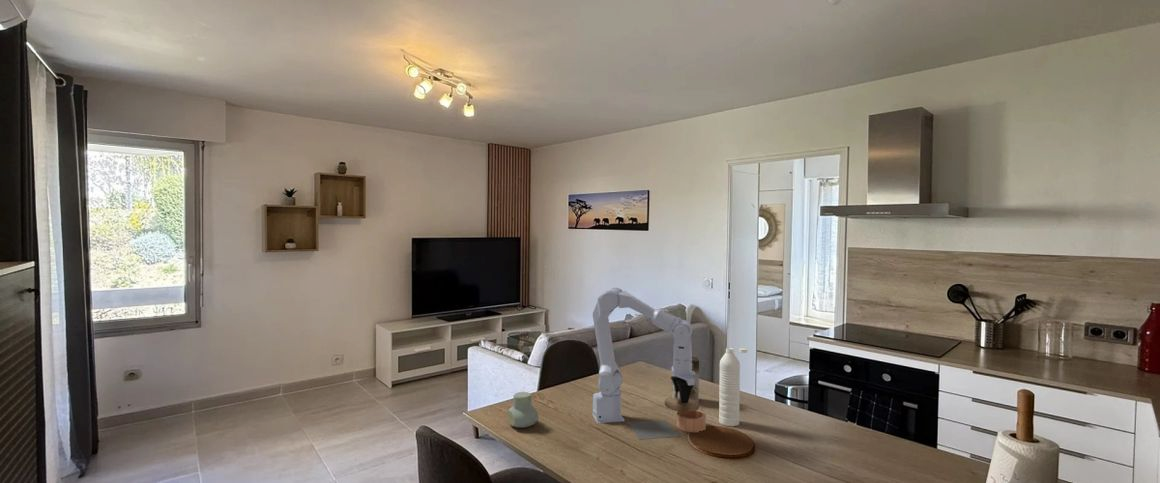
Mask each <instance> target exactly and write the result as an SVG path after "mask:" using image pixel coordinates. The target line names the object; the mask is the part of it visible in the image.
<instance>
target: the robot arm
mask: <svg viewBox="0 0 1160 483" xmlns="http://www.w3.org/2000/svg"><path fill="white" fill-rule="evenodd" d="M596 300H597V301H596V304H595V306H594V309H593V312H592V319H593V326H594V333H595V339H596V344H597V345H596V346H597V351H598V358H599V365H600V367H599V371H598V377H599V378H598V379H599V380H598V382H597V388H598V390H599V392H595V393H593V394H592V416H593V418H594V420H595V422H596V423H597V424H604V423H605V424H606V423H617V422H618V423H619V422H625V418H624V417H623V416H622V390H621V386H622V384H623V381H624V378H623V375H622V373H621V372H620V370H619V365H618V364H617V363H616V358H615V351H614V346H613V345H614V344H613V338H612V333H611V326H610V325H611V324H610V321H609V320H610V319H609V316H611V314H613V312H614V310H615V309H616V308H618V309H626V308H627V309H628V308H629V309H631V310H633V311H636V312H638V313H640V314H642V315H643V316H645V317H647V318H649V319H650V320H651V323H652V325H654V326H656V327H658V328H660V329H661V330H663V331H664V332H667V333H668V334H670V335H672V337H673V356H674V366H673V365H672V366H671V373H672V376H670V380H671V381H672V385H673V384H674V387H675V391H676V396H677V399H678V391H679V392H680V399H681V403H688V401H689V397H690V393H691V390H692V388H693V387H694V385H695V379H694V378H693V375H695V372H694V371H692V357H693V349H692V348H693V347H692V346H693V345H692V334H693V331H694V330H693V326H692V324H691V323H690V321H688V320H687V319H682V318H681V317H680V316H678V317H677V316H675V315H674V314H672V313H670V312H669V310H668V309H666V308H664V309H663V308H658V309H655V308H653V307H652V306H650V305H649V304H647V303H645V302H643V301H642V300H640V299H639V298H637V297H635V296H634V295H633V294H631V293H629V292H627V291H626V290H622V289H621V288H619V287H613V288H611V289H609V290H605V291H603V292H602V293H601V294H600V295H599V296H598V297H597V299H596ZM673 375H674V376H673Z"/></svg>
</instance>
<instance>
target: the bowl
mask: <svg viewBox="0 0 1160 483" xmlns="http://www.w3.org/2000/svg"><path fill="white" fill-rule="evenodd" d="M676 427H677V428H678V429H679V430H681V431H684V432H687V433H700V432H699V431H702V432H703V430H704V431H705V430H706V429H707V413H706V412H704V411H702V410H700V409H698V410H696V411H692V412H681V411H676Z"/></svg>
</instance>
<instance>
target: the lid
mask: <svg viewBox="0 0 1160 483" xmlns="http://www.w3.org/2000/svg"><path fill="white" fill-rule="evenodd" d="M664 406H665V407H666V408H668V409H670V410H672V411H676V412H678V411H681V412H692V411H696V410H700V403H699V401H698V402H696V401H694V400H691V399H689V401H688V403H681V399H680V392H679V391H678V399H677V398H673V397H670V398H667V399H665V400H664Z"/></svg>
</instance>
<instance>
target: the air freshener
mask: <svg viewBox="0 0 1160 483" xmlns="http://www.w3.org/2000/svg"><path fill="white" fill-rule="evenodd" d="M538 413H539V412H538V410H537V408H536V407H535V406H533V404H532V394H531V393H530V392H527V391H520V392H515V393H514V394H513V405H512V406H511V407H510V408H509V409H508V410H507V411H506V418H507V421H508V423H509V424H510V426H512V427H514V428H517V429H518V428H519V429H524V428H525V429H526V428H529V427H531V426H533V425H535V424H536V423H537V422H538V420H539V414H538Z"/></svg>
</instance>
